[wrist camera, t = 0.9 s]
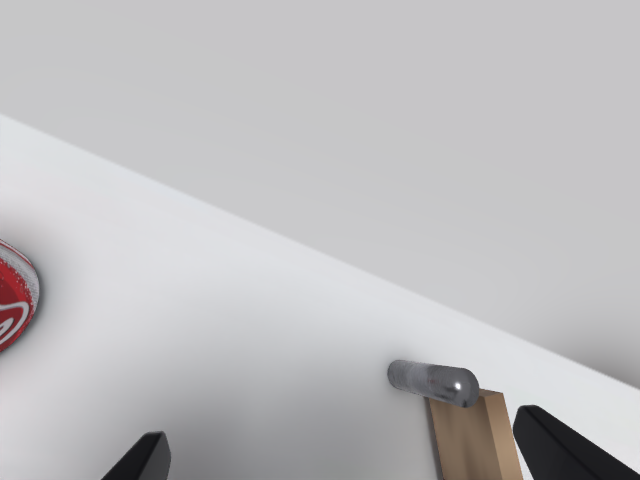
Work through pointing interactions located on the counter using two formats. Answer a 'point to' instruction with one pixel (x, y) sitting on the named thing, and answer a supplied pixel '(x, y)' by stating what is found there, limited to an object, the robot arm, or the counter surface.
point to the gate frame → (435, 382)
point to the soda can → (15, 294)
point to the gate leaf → (476, 439)
